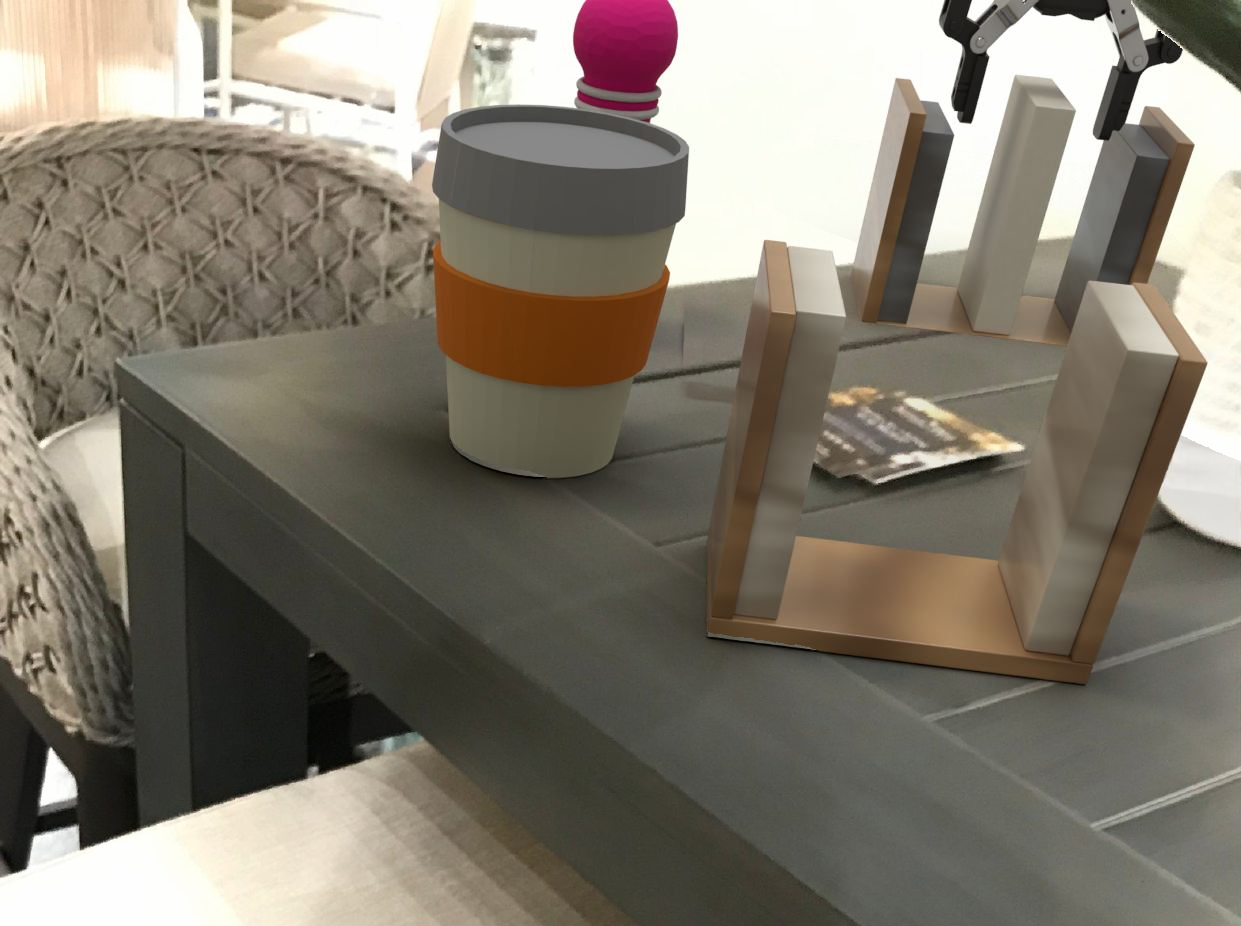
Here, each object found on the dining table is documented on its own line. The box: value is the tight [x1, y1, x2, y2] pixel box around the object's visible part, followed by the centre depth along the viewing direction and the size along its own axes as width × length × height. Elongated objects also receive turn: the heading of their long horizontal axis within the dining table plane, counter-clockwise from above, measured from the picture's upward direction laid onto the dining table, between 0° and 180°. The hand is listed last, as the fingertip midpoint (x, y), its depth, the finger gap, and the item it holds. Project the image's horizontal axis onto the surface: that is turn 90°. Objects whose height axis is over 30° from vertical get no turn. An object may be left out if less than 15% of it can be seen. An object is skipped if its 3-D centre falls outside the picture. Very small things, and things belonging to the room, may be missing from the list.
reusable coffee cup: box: [431, 104, 690, 479], centre depth 83 cm, size 13×13×15 cm
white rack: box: [705, 239, 1208, 685], centre depth 71 cm, size 17×10×14 cm, turn 83°
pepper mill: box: [572, 0, 679, 123], centre depth 97 cm, size 7×7×20 cm
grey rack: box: [850, 77, 1196, 347], centre depth 105 cm, size 17×10×13 cm, turn 83°
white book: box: [956, 74, 1077, 335], centre depth 104 cm, size 2×9×13 cm, turn 174°
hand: (1032, 129), depth 101 cm, fingers open, 8 cm apart
